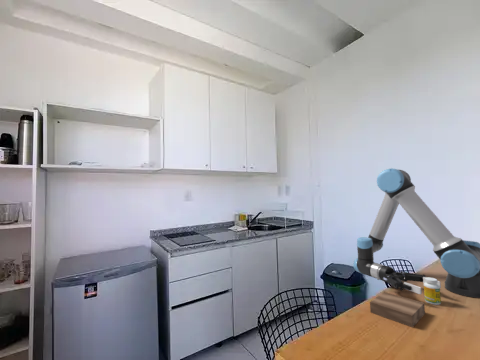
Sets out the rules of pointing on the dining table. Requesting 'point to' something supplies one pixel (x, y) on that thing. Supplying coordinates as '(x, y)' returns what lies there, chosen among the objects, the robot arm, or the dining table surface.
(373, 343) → the dining table surface
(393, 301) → the walnut riser
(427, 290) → the supplement bottle
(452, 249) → the robot arm
